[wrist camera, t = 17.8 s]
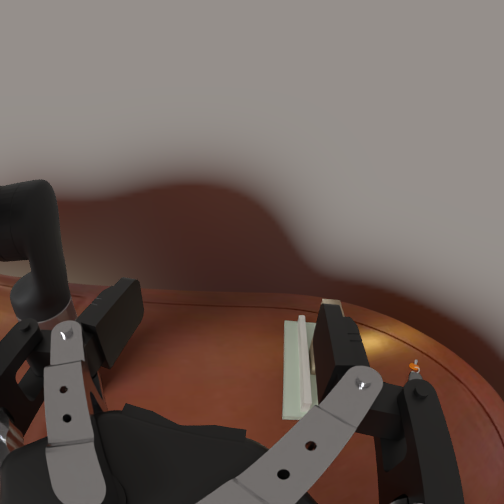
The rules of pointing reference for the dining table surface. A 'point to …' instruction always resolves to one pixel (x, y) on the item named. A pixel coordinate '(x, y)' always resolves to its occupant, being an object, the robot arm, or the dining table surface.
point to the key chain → (413, 374)
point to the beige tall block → (311, 354)
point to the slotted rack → (298, 370)
